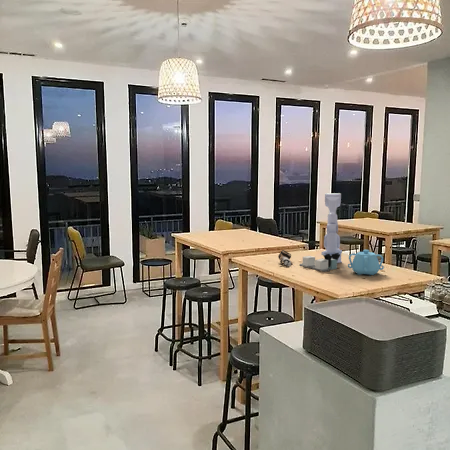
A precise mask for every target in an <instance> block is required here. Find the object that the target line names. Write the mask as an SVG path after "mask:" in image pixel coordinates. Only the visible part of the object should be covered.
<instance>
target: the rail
mask: <svg viewBox="0 0 450 450" xmlns="http://www.w3.org/2000/svg"><path fill="white" fill-rule="evenodd" d="M299 266H300V267H304V268H307V267H308V269H310V270H311V269H312V270H315V271H319V272H322V273H325V272H326V273H327V272H331V269H321V270H320V269H316V268H315V265H312V266H305V265H303V262H302V263H299Z"/></svg>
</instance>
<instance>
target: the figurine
mask: <svg viewBox="0 0 450 450" xmlns="http://www.w3.org/2000/svg"><path fill="white" fill-rule="evenodd" d="M291 258H292V253H290V252H288V251H286V250H284V249H282V250H281V251H280V253H279V254H278V259H279V261H280V262H279V263H281V264H282V263H283V264H284V266H287V267H288V266H289V267H290V266H293V262H292V261H291V260H290V259H291Z"/></svg>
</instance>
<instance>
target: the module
mask: <svg viewBox="0 0 450 450" xmlns="http://www.w3.org/2000/svg"><path fill="white" fill-rule="evenodd" d="M328 269H330V270H332V271H333V270H337V269H338V263H337V260H336V259H332V258H331V265H330V267H328Z"/></svg>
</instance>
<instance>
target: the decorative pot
mask: <svg viewBox="0 0 450 450" xmlns="http://www.w3.org/2000/svg"><path fill="white" fill-rule="evenodd" d="M352 256H354V257H353V259H352ZM378 257H380V258H381V259H380V261H379V259H378ZM348 260H349V263H348V264H347V268H349V269H352V271H353V272H354V273H355V274H357V275H358V276H361V275H369V276H371V275H373V276H375V275H376V274H377V273H379V271H382V270H384V268H385V267H384V265H383V262H384V257H383V255H381V254H377V253H375V252H371V251H370V250H369V249H363V250H362V251H358V252H356V253H355V252H354V253H350V254H349V255H348Z"/></svg>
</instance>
